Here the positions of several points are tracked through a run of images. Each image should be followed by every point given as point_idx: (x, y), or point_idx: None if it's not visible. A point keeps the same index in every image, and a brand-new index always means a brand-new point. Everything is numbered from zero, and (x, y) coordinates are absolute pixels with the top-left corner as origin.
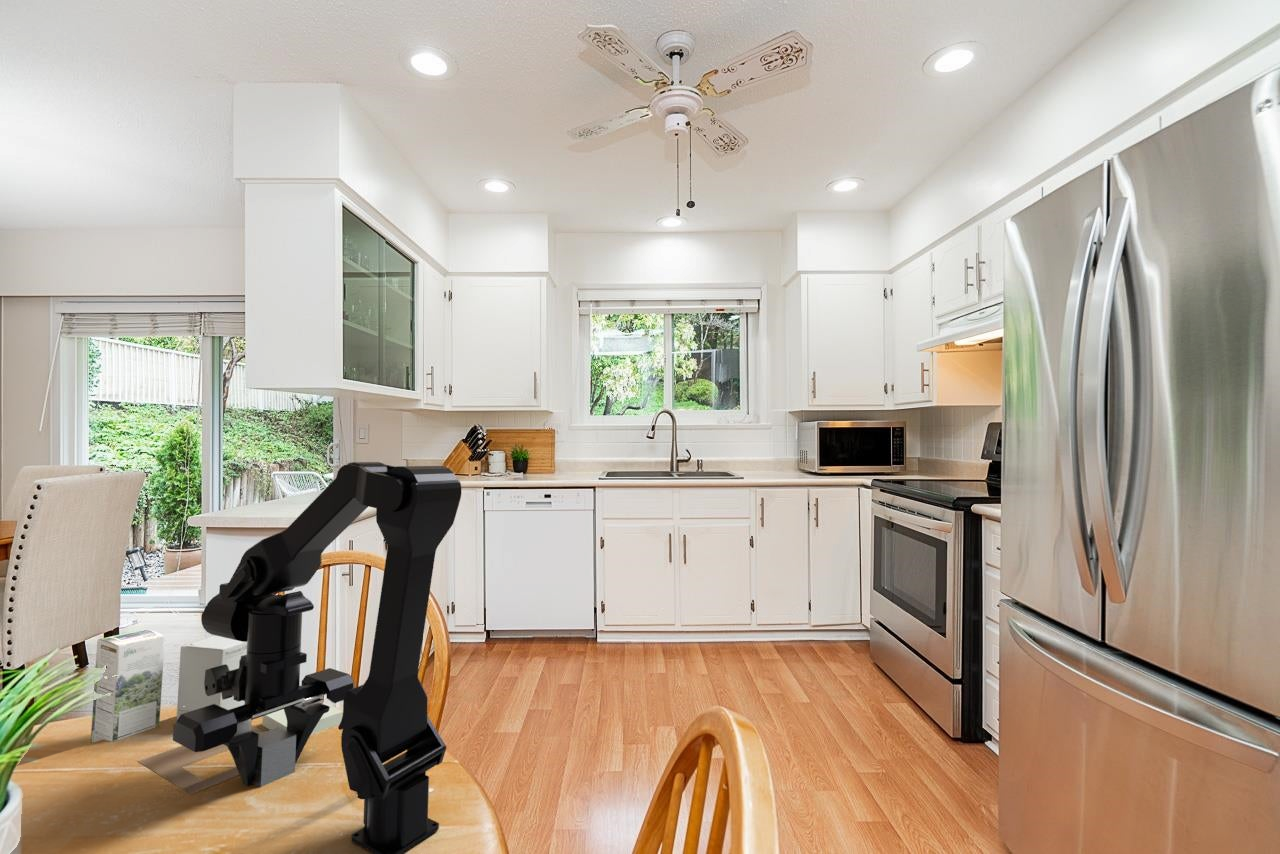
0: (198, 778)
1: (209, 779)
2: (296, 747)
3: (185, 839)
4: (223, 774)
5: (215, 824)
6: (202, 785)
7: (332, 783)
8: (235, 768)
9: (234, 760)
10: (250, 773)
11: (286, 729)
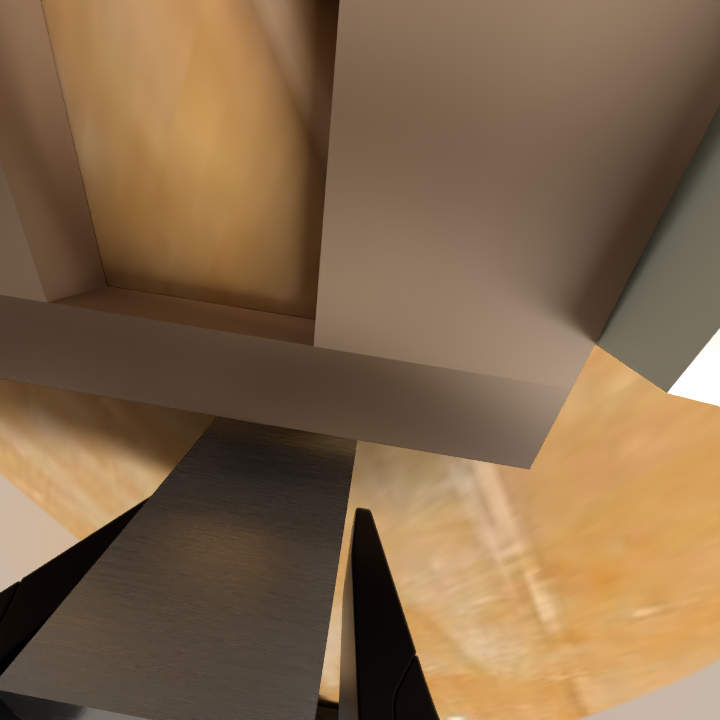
0: (24, 257)
1: (72, 327)
2: (341, 672)
3: (23, 479)
4: (140, 343)
5: (98, 489)
6: (35, 350)
7: (398, 591)
8: (206, 343)
9: (28, 580)
10: None
11: (712, 299)
